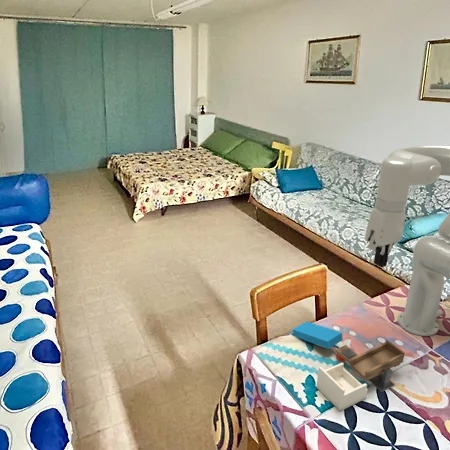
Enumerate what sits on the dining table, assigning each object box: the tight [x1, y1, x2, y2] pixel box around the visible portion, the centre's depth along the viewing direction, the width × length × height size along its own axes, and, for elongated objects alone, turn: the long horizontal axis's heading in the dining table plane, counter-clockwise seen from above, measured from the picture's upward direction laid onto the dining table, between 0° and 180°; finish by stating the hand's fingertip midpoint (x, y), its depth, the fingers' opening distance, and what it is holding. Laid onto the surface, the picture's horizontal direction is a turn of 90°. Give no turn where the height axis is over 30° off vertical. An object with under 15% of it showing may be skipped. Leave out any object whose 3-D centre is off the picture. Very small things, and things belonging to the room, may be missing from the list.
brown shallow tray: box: [334, 339, 406, 382], centre depth 113 cm, size 14×12×5 cm
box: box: [316, 362, 369, 412], centre depth 106 cm, size 9×9×7 cm
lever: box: [292, 321, 346, 362], centre depth 124 cm, size 7×7×18 cm
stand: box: [367, 368, 396, 393], centre depth 112 cm, size 5×10×6 cm, turn 28°
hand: (379, 264), depth 113 cm, fingers closed
